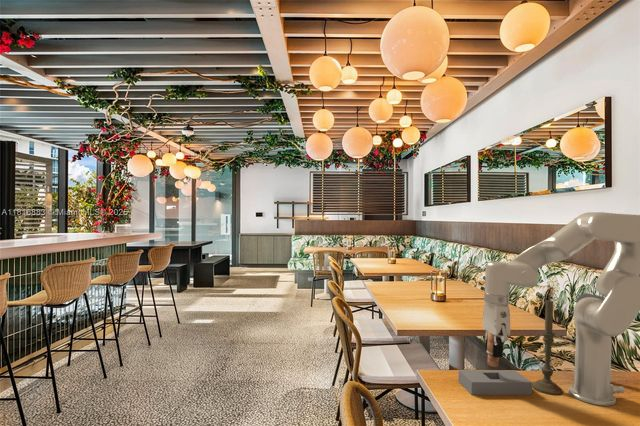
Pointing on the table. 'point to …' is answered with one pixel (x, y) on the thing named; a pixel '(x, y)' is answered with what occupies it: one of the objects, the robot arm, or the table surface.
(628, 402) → the table surface
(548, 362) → the candlestick holder
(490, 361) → the dowel
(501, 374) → the seat board
